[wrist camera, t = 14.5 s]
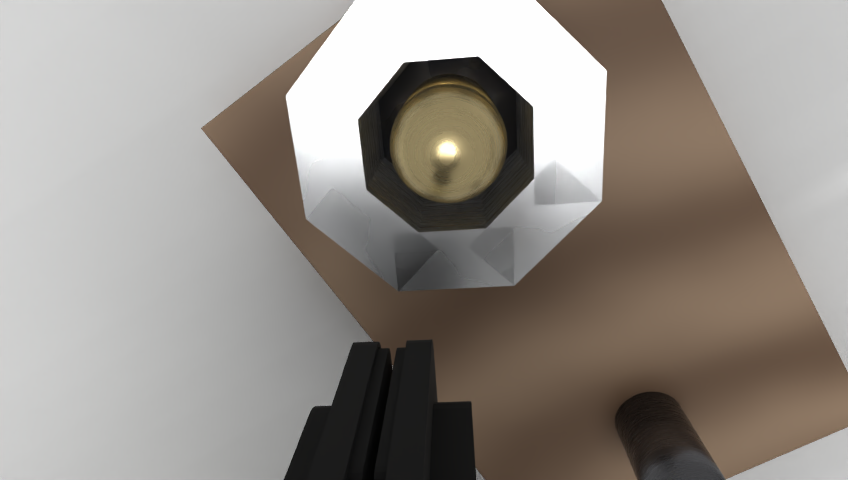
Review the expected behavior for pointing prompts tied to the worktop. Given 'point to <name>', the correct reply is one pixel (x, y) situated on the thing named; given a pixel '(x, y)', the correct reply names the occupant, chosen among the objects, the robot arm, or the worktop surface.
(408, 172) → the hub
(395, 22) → the white octagonal block
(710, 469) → the stand rod
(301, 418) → the worktop surface
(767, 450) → the base board
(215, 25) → the worktop surface
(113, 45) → the worktop surface
